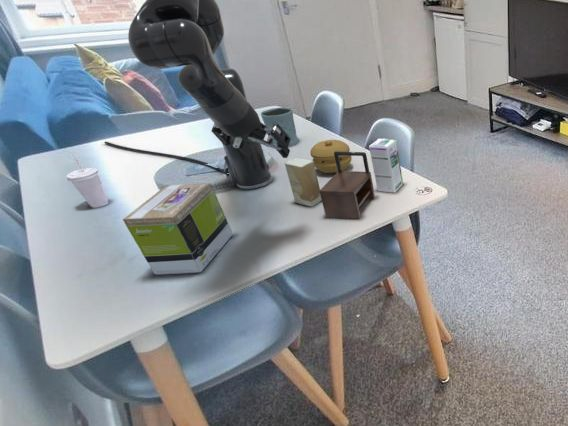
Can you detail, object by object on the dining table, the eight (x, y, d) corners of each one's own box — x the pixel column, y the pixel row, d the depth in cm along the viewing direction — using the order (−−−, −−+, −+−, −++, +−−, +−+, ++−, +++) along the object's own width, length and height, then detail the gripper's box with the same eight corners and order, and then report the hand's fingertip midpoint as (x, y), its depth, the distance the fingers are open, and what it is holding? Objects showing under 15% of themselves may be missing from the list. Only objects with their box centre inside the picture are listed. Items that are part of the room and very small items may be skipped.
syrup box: (395, 193, 124) (388, 146, 116) (376, 191, 125) (368, 144, 117) (403, 184, 128) (397, 139, 121) (385, 182, 129) (377, 137, 122)
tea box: (191, 237, 104) (166, 183, 96) (234, 235, 105) (213, 181, 97) (152, 276, 91) (119, 217, 83) (201, 273, 92) (173, 215, 84)
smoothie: (120, 200, 119) (95, 154, 112) (94, 211, 114) (66, 164, 107) (104, 197, 121) (79, 151, 114) (78, 208, 116) (50, 160, 109)
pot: (328, 181, 130) (321, 150, 125) (307, 171, 136) (299, 141, 131) (361, 168, 138) (355, 139, 133) (340, 159, 144) (333, 131, 139)
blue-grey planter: (270, 150, 151) (260, 117, 145) (269, 140, 159) (260, 109, 153) (301, 145, 155) (292, 113, 149) (299, 136, 163) (291, 105, 157)
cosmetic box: (294, 202, 119) (282, 162, 112) (306, 196, 122) (295, 156, 116) (312, 207, 116) (301, 166, 110) (324, 200, 120) (313, 160, 114)
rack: (326, 217, 112) (313, 169, 105) (344, 195, 122) (334, 150, 115) (359, 219, 111) (348, 170, 104) (375, 197, 122) (366, 151, 114)
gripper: (269, 95, 86) (302, 142, 101) (199, 92, 86) (242, 139, 101) (258, 125, 83) (294, 169, 98) (185, 122, 83) (232, 166, 98)
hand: (268, 154), depth 99 cm, fingers open, 8 cm apart
